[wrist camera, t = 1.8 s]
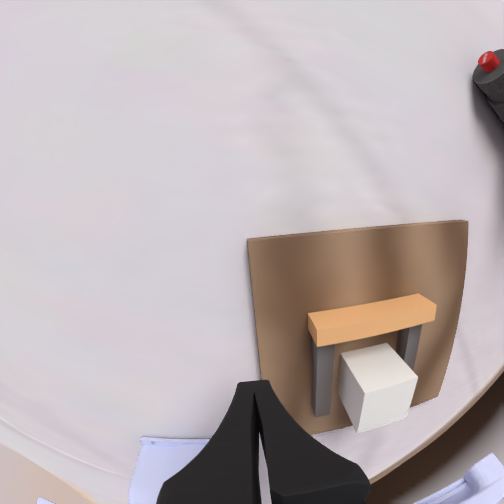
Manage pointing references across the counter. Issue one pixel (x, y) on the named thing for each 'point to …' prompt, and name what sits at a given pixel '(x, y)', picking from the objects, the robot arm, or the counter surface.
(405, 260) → the base board
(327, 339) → the bar
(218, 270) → the counter surface
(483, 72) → the laser sight
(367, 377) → the white block
